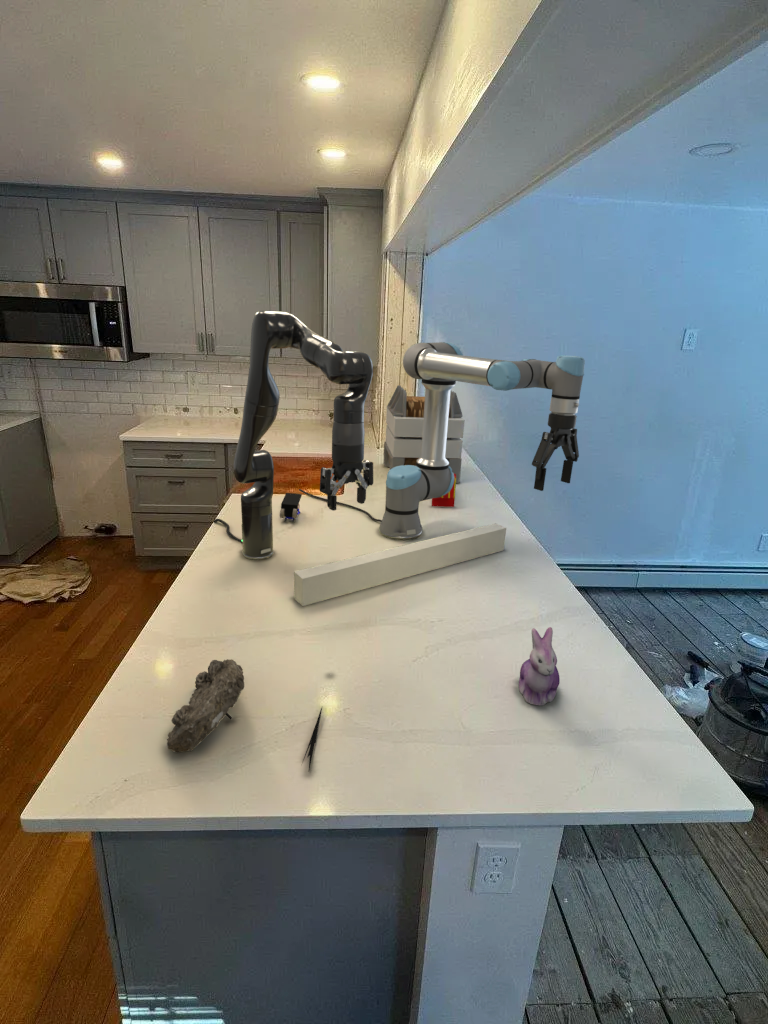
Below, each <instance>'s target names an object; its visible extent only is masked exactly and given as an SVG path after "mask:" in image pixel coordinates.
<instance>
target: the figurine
mask: <svg viewBox="0 0 768 1024" xmlns="http://www.w3.org/2000/svg"><path fill="white" fill-rule="evenodd" d="M553 635H554V631H553V627H551V626H549V627H547V628H546V630H545V632H544V634H543V637H542V636H541V634H540V633H539V632H538V630H537V629H536V628H535V627H534V628H532V629H531V642H532V644H531V645H532V649H531V651H530V653H529V658H528V659H526V660H525V661H524V662H523V663H522V664H521V666H520V668H519V669H520V670H519V679H518V690H519V693H520V694H521V695H522V696H523V697H524V698H523V699H524V700H525V702H526V703H528V704H531V705H535V706H545V705H546V704H547V703H551V702H553V701H554V699H555V697H556V694H557V691H558V688H559V686H560V680H561V677H560V673H559V669H558V668H557V665H558V658H557V655H556V652H555V650H554V648H553Z"/></svg>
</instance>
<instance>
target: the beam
mask: <svg viewBox="0 0 768 1024" xmlns="http://www.w3.org/2000/svg"><path fill="white" fill-rule="evenodd" d="M506 535H507V527H506V526H503V525H501V524H498V523H496V522H495V523H491V524H487V525H483V526H479V527H474V528H470V529H467V530H461V531H458V532H457V531H456V532H453V533H449V534H446V535H441V536H437V537H432V538H428V539H425V540H420V541H416V542H412V543H407V544H402V545H399V546H395V547H391V548H387V549H382V550H377V551H374V552H369V553H366V554H361V555H357V556H353V557H349V558H345V559H341V560H337V561H332V562H327V563H323V564H320V565H319V564H318V565H315V566H310V567H307V568H306V567H305V568H302V569H299V570H293V587H294V588H293V599H294V600H295V601H297V602H298V604H299V605H301V607H305V606H308V605H312V604H316V603H320V602H323V601H327V600H331V599H334V598H338V597H341V596H345V595H348V594H352V593H355V592H359V591H363V590H367V589H369V588H374V587H377V586H381V585H384V584H388V583H392V582H395V581H398V580H403V579H406V578H409V577H413V576H417V575H420V574H424V573H428V572H431V571H435V570H438V569H442V568H445V567H449V566H452V565H456V564H459V563H463V562H467V561H471V560H474V559H477V558H481V557H485V556H489V555H492V554H496V553H499V552H503V551H504V550H505V542H506Z"/></svg>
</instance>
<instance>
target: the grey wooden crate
mask: <svg viewBox="0 0 768 1024" xmlns="http://www.w3.org/2000/svg"><path fill="white" fill-rule="evenodd" d="M407 394H408V393H407V390H406V389H404V388H403V387H402V385H399V384H398V385H397V386H396V388H395V390H394V392H393V394H392V395H391V398H390V400H389V402H388V404H387V405H386V413H385V414H386V415H385V423H386V428H385V438H384V442H383V466H384V467H388V468H389V470H390V469H392V468H394V467H396V466H401V465H404V466H405V465H413V466H416V461H417V459H418V458H420V457H421V449H422V434H423V419H424V404H425V396H415V395H414V396H413V395H412V396H411V395H407ZM464 429H465V419H464V418H463V411H462V408H461V405H460V402H459V398H458V395H457V392H455V391H453V390H451V391H450V404H449V416H448V428H447V440H446V453H445V458H446V459H447V461H448V462H449V466H450V467H451V469H452V473H454V474H456V484H459V483H461V472H462V461H463V460H462V453H463V442H464V441H463V440H462V439H463V438H464V431H465V430H464Z"/></svg>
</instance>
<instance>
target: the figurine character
mask: <svg viewBox="0 0 768 1024" xmlns="http://www.w3.org/2000/svg"><path fill="white" fill-rule="evenodd" d="M301 499H302V493H293V492H285V495H284V496H283V499H282V500H281V503H280V512H279V518H280V519H283V522H284V523H287V520H291V523H294V522H295V520H296V519H297V518H298V516H299V515H300V514H301V511H300V508H301V507H300V502H301Z"/></svg>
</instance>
